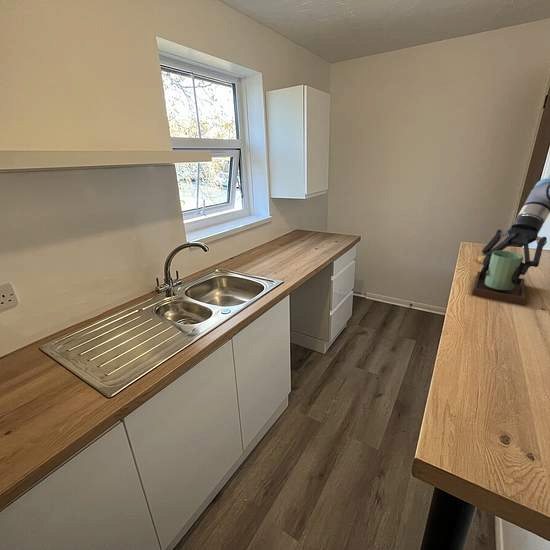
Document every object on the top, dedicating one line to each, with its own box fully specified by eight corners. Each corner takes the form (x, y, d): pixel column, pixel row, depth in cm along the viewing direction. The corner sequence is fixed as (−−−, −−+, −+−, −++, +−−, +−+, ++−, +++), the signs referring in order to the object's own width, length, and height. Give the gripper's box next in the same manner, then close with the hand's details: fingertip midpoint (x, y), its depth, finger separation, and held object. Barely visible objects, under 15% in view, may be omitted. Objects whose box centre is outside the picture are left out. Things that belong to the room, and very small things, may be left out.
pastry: (507, 266, 121) (510, 258, 120) (495, 269, 120) (497, 260, 118) (486, 259, 130) (488, 251, 128) (474, 261, 128) (476, 253, 126)
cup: (506, 280, 105) (514, 250, 100) (519, 291, 97) (529, 259, 93) (480, 279, 106) (487, 250, 102) (491, 290, 99) (499, 258, 94)
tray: (476, 278, 113) (478, 271, 112) (522, 286, 105) (524, 278, 104) (471, 296, 100) (473, 288, 99) (523, 306, 92) (525, 298, 91)
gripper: (570, 233, 95) (537, 293, 93) (495, 222, 111) (465, 273, 109) (571, 219, 90) (537, 282, 88) (492, 210, 106) (461, 263, 104)
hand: (497, 277), depth 98 cm, fingers closed on cup, 8 cm apart
